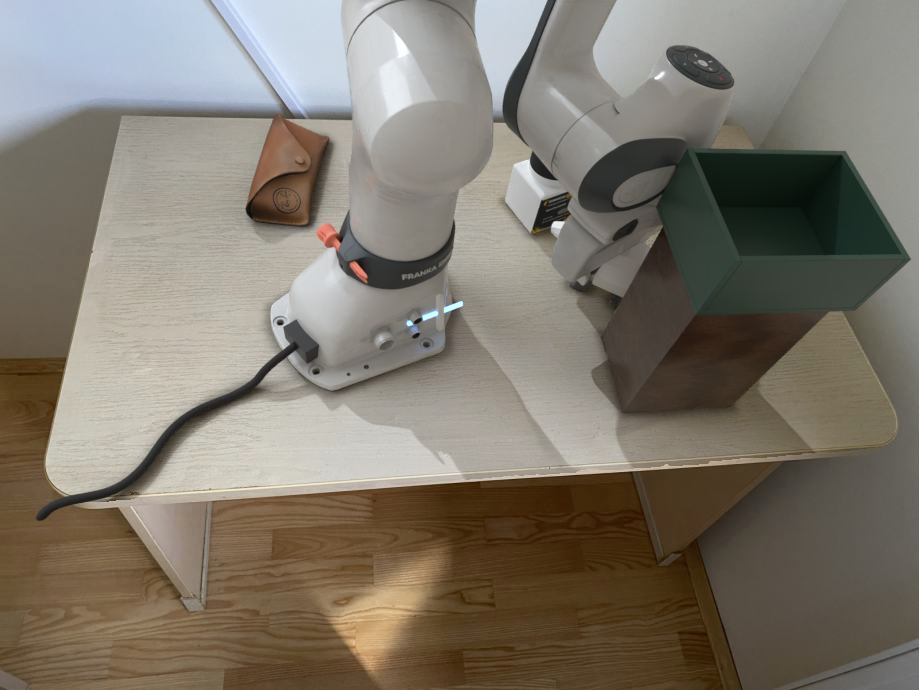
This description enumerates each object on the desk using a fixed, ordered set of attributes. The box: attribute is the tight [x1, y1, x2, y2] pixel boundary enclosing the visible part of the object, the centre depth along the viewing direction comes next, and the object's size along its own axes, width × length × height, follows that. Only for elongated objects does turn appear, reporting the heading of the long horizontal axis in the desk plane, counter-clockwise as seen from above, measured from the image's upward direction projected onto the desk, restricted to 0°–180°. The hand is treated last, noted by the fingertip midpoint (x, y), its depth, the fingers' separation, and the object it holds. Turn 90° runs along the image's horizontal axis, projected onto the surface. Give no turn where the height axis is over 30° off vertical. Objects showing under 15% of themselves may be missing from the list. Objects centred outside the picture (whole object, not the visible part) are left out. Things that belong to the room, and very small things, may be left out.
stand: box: [601, 227, 829, 414], centre depth 73 cm, size 14×11×22 cm
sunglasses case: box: [245, 113, 330, 227], centre depth 91 cm, size 18×7×7 cm
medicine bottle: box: [504, 150, 572, 235], centre depth 90 cm, size 7×7×12 cm
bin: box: [656, 147, 912, 315], centre depth 61 cm, size 16×13×8 cm
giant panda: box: [549, 221, 652, 308], centre depth 85 cm, size 15×6×10 cm, turn 64°
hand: (605, 266), depth 86 cm, fingers closed on giant panda, 7 cm apart
